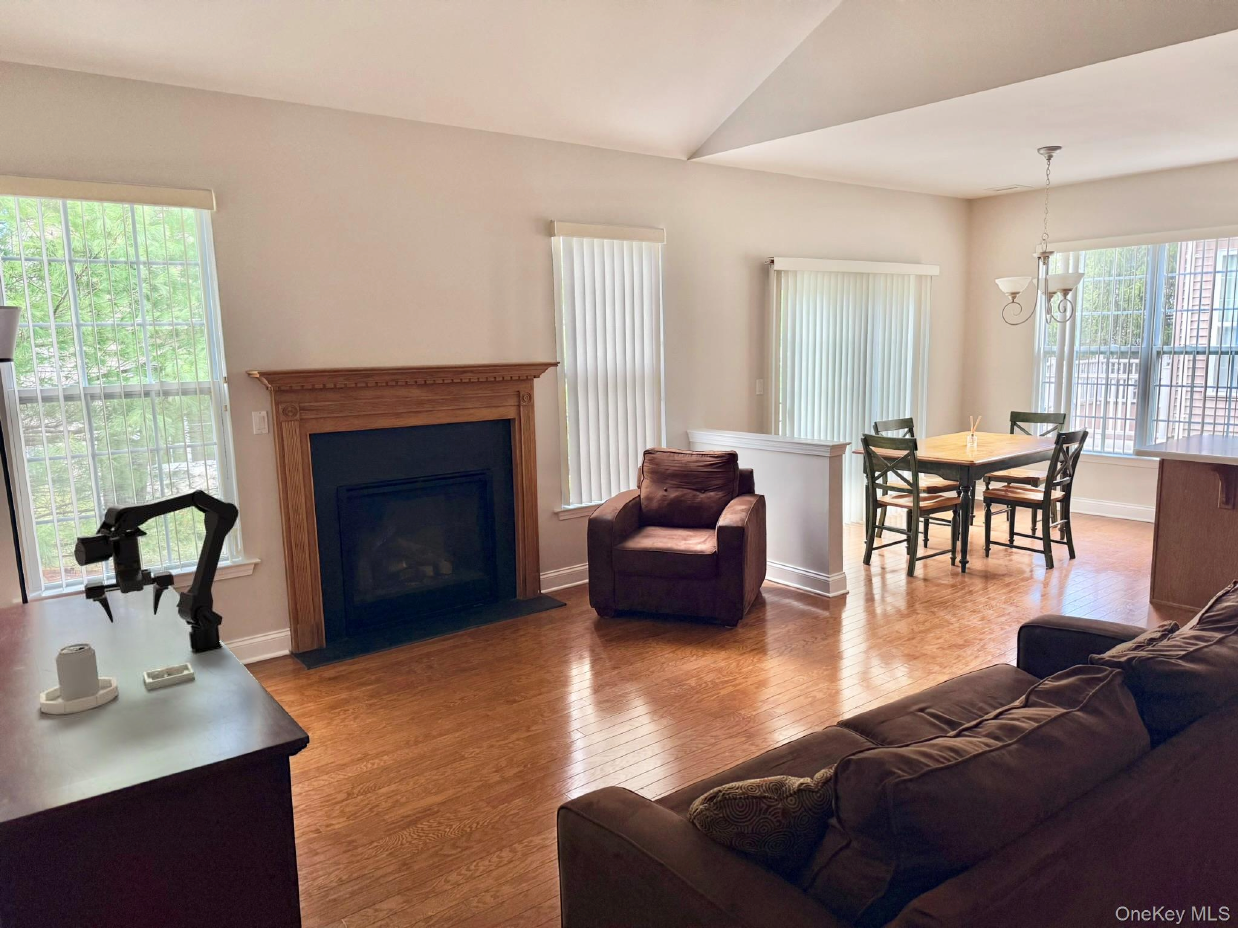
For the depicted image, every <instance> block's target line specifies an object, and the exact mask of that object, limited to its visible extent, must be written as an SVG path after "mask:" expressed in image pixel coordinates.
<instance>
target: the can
mask: <svg viewBox="0 0 1238 928" xmlns="http://www.w3.org/2000/svg"><path fill="white" fill-rule="evenodd" d="M57 652H58V654H57V655H56V657H55V664H56V670H57V671H56V672H57V678H58V680H57V681H58V685H59V688H60V696H61V699H62V700H63V701H66V702H68V701H72V700H77V699H81V698H86V697H90V696H94V695H96V694H98V693H99V691H100V686H99V678H98V677H99V671H98V664H97V655H96V650H95V649H94V648H92V644H91V643H87V642H86V643H85V642H82V643H79V642H78V643H73V644H69V645H66V646H63V647H61V648H60V649H58V651H57Z"/></svg>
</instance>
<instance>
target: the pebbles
mask: <svg viewBox="0 0 1238 928" xmlns="http://www.w3.org/2000/svg"><path fill="white" fill-rule="evenodd" d="M172 666H173V665H169V666H167V668H166V667H165V668H166V669H165V670H163V669H162V668H158V669H159V670H158V671H157V672H156V673H154V674H153V675H152V680H157V679H161V678H162V677H164V676H165V674H168V675H171V674H173V675H174V676H175V675H179V674H183V673H184V669H183V668H182V667H180V666H177V667H175V668H174V667H172Z"/></svg>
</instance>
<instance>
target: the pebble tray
mask: <svg viewBox="0 0 1238 928" xmlns="http://www.w3.org/2000/svg"><path fill="white" fill-rule="evenodd" d="M171 666H172V667H174V668H175V667H177V666H180V667H182V668H183V669H184V673H183V674H179V675H175V676H174V675H173V674H171V675H168V674H165V676H164V677H162V678H161V679H157V680H152V675H153V674H154V673H156V672H157V671H158V670H159V669H160V668H158V669H154V670H149V671H144V672H142V677H143V678H142V679H143V682H144V685H145V688H146V690H147V691H151V690H153V689H157V688H162V687H167V686H171V685H175V684H179V683H183V682H189V681H193V680H195V679H196V677H195V671H194V669H193V667H192V666H191V663H190V662H186V663H181V664H177V665H176V664H175V665H171ZM167 667H168V666H167ZM167 667H163V668H161V669H163V670H165V669H166V668H167Z"/></svg>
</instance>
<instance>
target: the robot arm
mask: <svg viewBox="0 0 1238 928" xmlns="http://www.w3.org/2000/svg"><path fill="white" fill-rule="evenodd" d="M192 507H194V508H195V509H196V510H197V511H199V512H200V513H202V514H204V515H203V516H204V517H203V518H204V519H203V525H204V530H205V536H204V539H203V544H202V547H201V550H200V554H199V558H198V562H197V565H196V568H195V571H194V575H193V580H192V582H191V586H190V587H189V589H188V590H187V591H186V592H184V591H180V593H179V598H178V599H179V600H178V603H177V604H176V608H177V614H178V615H179V617H180V618H181V619H182V620H184V621H185V623H186V625H188V626H190V631H189V632H188V637H189V646H190V649H191V650H193V652H194V653H196V654H197V653H202V652H205V651H206V652H207V651H211V650H212V651H213V650H215V649H220V648H223V645H222V643H221V639H220V638H221V637H220V628H219V626H221V625H222V623H223V616H222V615H221V614H219V613H217V612H215V611H214V609H213V608H214V598H213V597H214V596H213V592H212V588H213V585H214V580H215V578H216V572H217V570H218V566H219V562H220V558H221V554H222V551H223V546H224V543H225V539H226V537H227V535H228V534H229V533H230V532H231V531H232V529H233V528H234V527H235V524H236V522H237V521H238V518H239V512H240V511H239V509H238V507H237V506H236V504H234V503H232V502H226V501H223V500H221V499H218V498H216V497H215V496H213V495H210V494H208V493H207V492H205V491H204V490H202V489H195V488H190V489H188V490H186V491H183V492H179V493H175V494H171V495H168V496H164V497H161V498H157V499H153V500H150V501H145V502H141V503H127V504H126V503H125V504H115V505H111V506H110V507H108V508H107V509H106V512H104V513H105V514H104V518H103V520H102V522H101V524H100V525H99V527H98V529H97V530H96V532H95V534H93V535H87V536H85V535H83V536H78V537H77V538H76V541H77V542H76V544H75V545H74V550H73V555H74V557H75V561H76V563H77V564H78V566H80V567H84V566H90V565H94V564H99V563H104V562H108V561H110V558H112V562H113V569H114V570H113V571H114V578H115V582H112V583H107V584H104V581H103V580H101V581H95V582H90V583H89V582H88V583H86V584H85V585H84V586H83V587H84V594H85V599H86V600H92V602H98V603H99V604H100V606H101V607H102V608H103V610H104V611H105V613H106V615H107V618H108V619H109V621H110V623H111V624H113V623H114V616H113V613H112V610H111V606H110V603H109V600H108V597H107V594H106V593H108V592H114V591H115V592H116V591H120V593H121V594H123V595H124V594H129V593H132V592H142V591H144V587H146V586H151V585H152V608H153V609H152V610H153V615H154V616H155V615H157V613H158V610H159V609H158V608H159V604H160V601H161V598H162V596H163V593H164V592H165V590H169V589H170V588H169V587H171V586H174V585H175V579H174V575H173V573H172V572H171V570H170V571H169V570H163V571H157V572H153V576H152V569H151V568H142V560H141V553H140V546H139V537H144V536H147V535H148V533H147V532H146V531H144V530H143V529H141V528H140V526H143V525H144V524H146V522H147V523H148V521H149V520H151V519H154V518H157V517H161V516H164V515H168V514H171V513H174V512H177V511H181V510H186V509H189V508H192ZM219 641H220V642H219Z"/></svg>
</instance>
